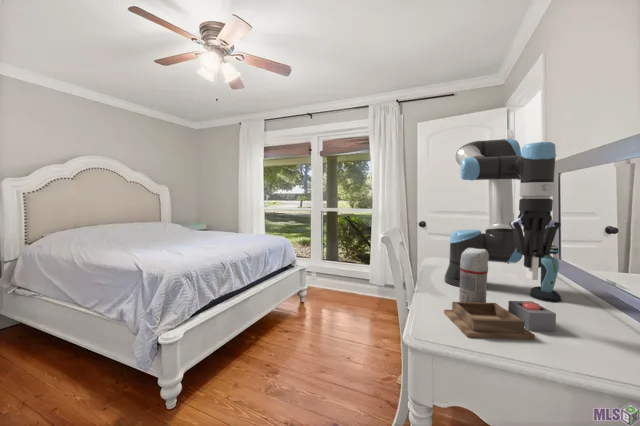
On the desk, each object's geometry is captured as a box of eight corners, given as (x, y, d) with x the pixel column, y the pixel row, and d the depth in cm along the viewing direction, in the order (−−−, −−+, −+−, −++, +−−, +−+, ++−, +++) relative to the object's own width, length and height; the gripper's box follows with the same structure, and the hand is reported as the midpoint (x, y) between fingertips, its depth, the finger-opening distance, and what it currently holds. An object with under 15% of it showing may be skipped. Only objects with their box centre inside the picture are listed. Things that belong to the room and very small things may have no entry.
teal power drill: (543, 302, 96) (546, 246, 95) (518, 291, 107) (520, 241, 106) (568, 302, 96) (571, 246, 95) (540, 291, 108) (542, 241, 107)
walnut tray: (444, 313, 86) (444, 300, 85) (499, 315, 85) (499, 301, 84) (467, 337, 71) (467, 321, 70) (534, 339, 70) (535, 323, 70)
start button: (518, 309, 81) (519, 301, 81) (532, 309, 81) (533, 301, 80) (528, 314, 77) (528, 306, 77) (543, 315, 77) (543, 306, 76)
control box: (508, 316, 84) (508, 300, 83) (531, 317, 83) (532, 301, 83) (528, 330, 75) (529, 312, 74) (555, 331, 74) (556, 313, 74)
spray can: (491, 313, 86) (493, 251, 85) (463, 311, 87) (465, 250, 86) (481, 304, 94) (483, 247, 93) (455, 302, 95) (457, 246, 95)
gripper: (521, 197, 74) (517, 282, 75) (571, 197, 73) (565, 283, 75) (504, 197, 81) (500, 274, 83) (549, 197, 81) (544, 275, 82)
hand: (531, 278), depth 79 cm, fingers closed
